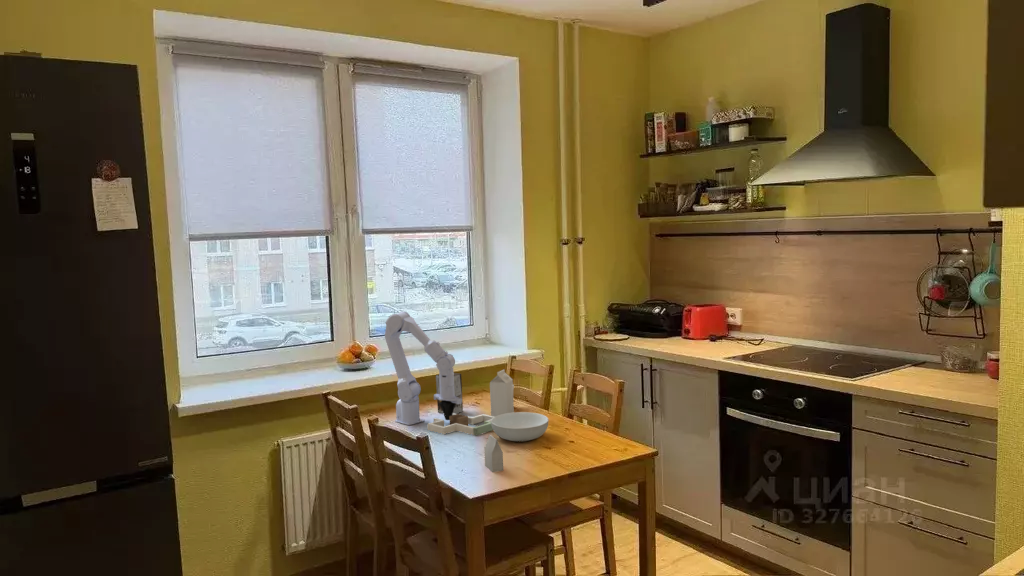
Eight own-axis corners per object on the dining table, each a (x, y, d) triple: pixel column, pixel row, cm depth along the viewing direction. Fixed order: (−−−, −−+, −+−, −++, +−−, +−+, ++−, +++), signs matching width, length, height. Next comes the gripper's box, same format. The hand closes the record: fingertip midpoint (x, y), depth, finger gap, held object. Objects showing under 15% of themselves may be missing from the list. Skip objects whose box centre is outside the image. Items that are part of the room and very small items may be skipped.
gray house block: (492, 472, 221) (491, 440, 220) (485, 466, 227) (483, 435, 226) (503, 470, 222) (502, 439, 221) (495, 464, 229) (494, 433, 228)
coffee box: (463, 411, 297) (462, 373, 296) (454, 415, 292) (452, 376, 291) (446, 409, 302) (444, 371, 301) (437, 412, 297) (435, 374, 296)
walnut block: (449, 426, 276) (449, 416, 276) (458, 423, 279) (458, 413, 279) (459, 428, 272) (458, 418, 271) (468, 426, 275) (468, 416, 274)
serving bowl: (482, 444, 250) (482, 425, 250) (503, 428, 270) (503, 410, 269) (538, 448, 243) (538, 429, 243) (556, 432, 263) (555, 413, 262)
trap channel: (421, 428, 273) (421, 421, 273) (465, 415, 290) (465, 409, 289) (463, 439, 257) (462, 432, 256) (507, 425, 273) (506, 418, 273)
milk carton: (491, 419, 283) (489, 372, 282) (498, 414, 290) (496, 368, 288) (507, 420, 281) (505, 373, 279) (514, 415, 287) (512, 369, 286)
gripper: (427, 385, 281) (428, 418, 282) (451, 389, 271) (453, 424, 272) (440, 382, 286) (442, 415, 287) (465, 386, 276) (466, 420, 277)
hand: (448, 419), depth 280 cm, fingers closed
